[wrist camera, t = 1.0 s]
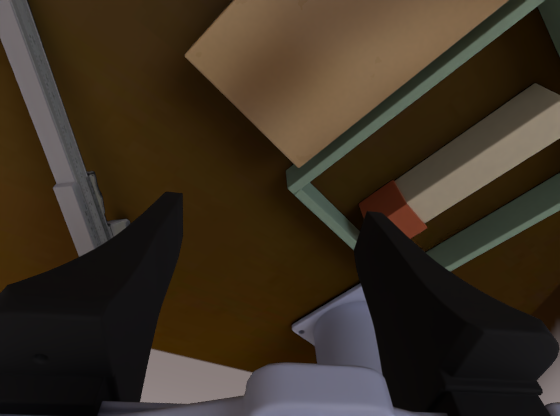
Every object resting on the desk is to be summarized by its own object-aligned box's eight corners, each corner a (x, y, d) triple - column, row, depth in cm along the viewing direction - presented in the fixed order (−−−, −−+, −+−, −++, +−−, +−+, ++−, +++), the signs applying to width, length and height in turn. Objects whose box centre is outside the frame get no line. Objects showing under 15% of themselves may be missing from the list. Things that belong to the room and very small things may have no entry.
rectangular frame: (611, 148, 24) (640, 165, 22) (395, 276, 30) (404, 297, 28) (535, -34, 18) (566, -31, 16) (285, 170, 24) (286, 188, 22)
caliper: (139, 242, 27) (110, 312, 22) (125, 243, 27) (92, 314, 22) (-26, -144, 15) (-178, -192, 10) (-52, -140, 15) (-217, -186, 10)
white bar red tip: (549, 111, 22) (584, 131, 20) (378, 224, 27) (389, 251, 24) (534, 80, 21) (568, 96, 19) (358, 203, 25) (367, 229, 23)
